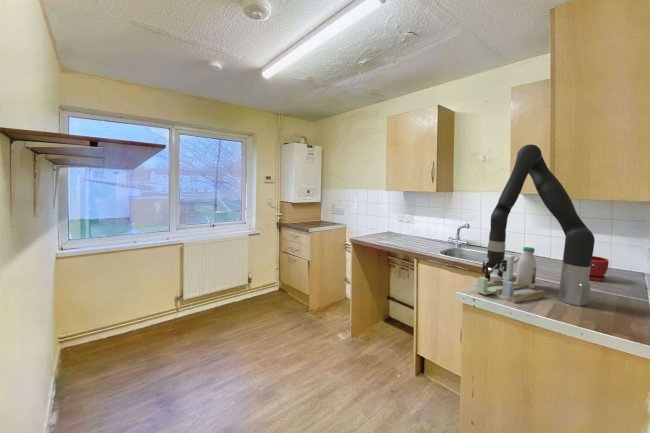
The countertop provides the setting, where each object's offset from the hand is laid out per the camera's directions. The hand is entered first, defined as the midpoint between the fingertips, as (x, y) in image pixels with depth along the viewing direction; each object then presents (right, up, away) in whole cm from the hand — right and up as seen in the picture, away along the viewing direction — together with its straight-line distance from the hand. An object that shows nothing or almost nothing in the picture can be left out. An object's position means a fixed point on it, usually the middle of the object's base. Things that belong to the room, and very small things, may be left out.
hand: (493, 280), depth 144 cm
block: (0, -3, 0) cm, 3 cm away
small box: (+12, -2, +12) cm, 18 cm away
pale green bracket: (-5, -3, -9) cm, 11 cm away
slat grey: (+4, -3, -14) cm, 15 cm away
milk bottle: (+16, -3, 0) cm, 16 cm away
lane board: (+3, -4, -10) cm, 11 cm away
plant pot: (+62, -2, +14) cm, 64 cm away
